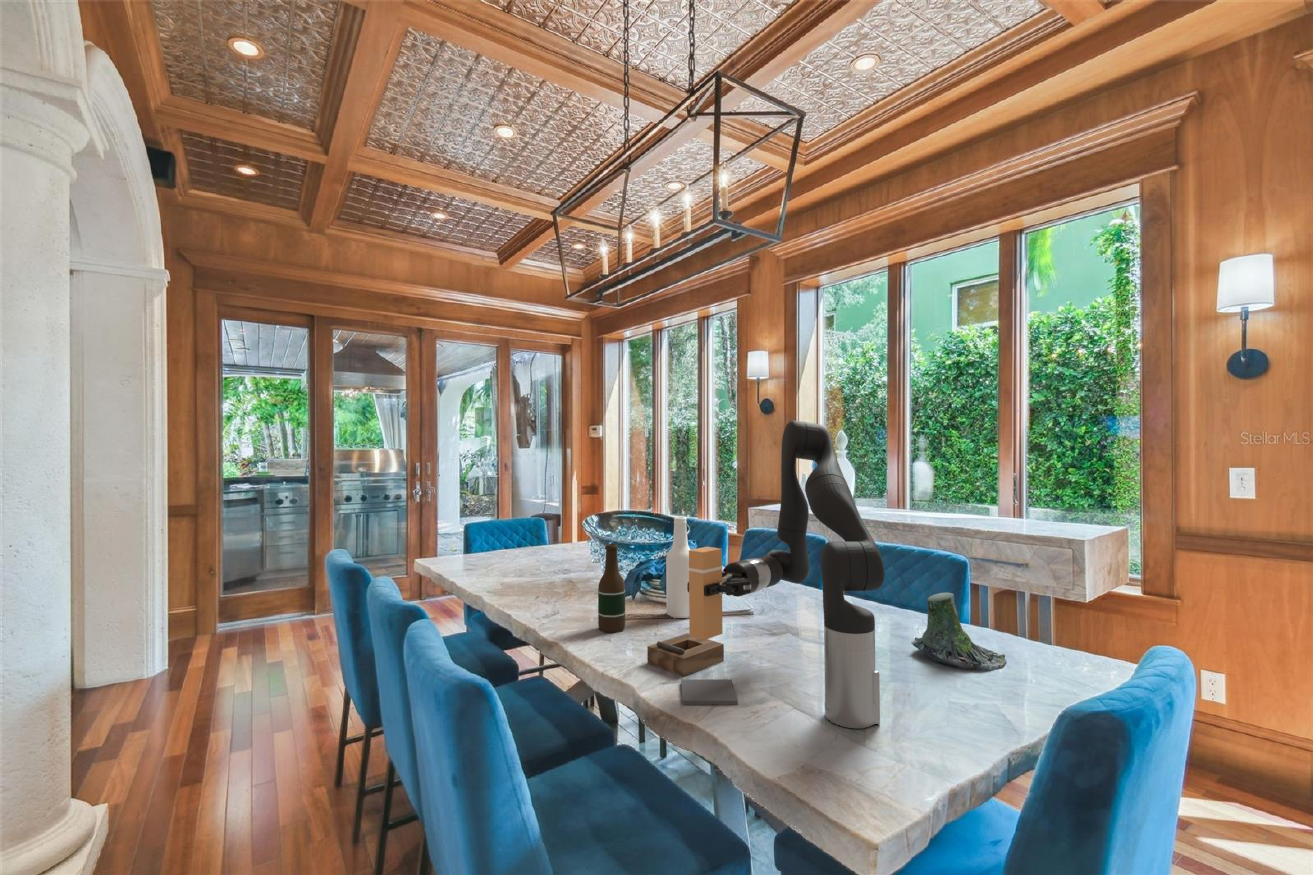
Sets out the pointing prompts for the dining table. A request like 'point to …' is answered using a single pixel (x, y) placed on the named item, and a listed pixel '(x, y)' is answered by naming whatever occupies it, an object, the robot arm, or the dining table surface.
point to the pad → (708, 692)
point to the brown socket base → (685, 654)
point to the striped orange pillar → (702, 608)
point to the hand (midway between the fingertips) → (697, 589)
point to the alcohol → (678, 572)
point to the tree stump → (953, 639)
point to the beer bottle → (611, 595)
